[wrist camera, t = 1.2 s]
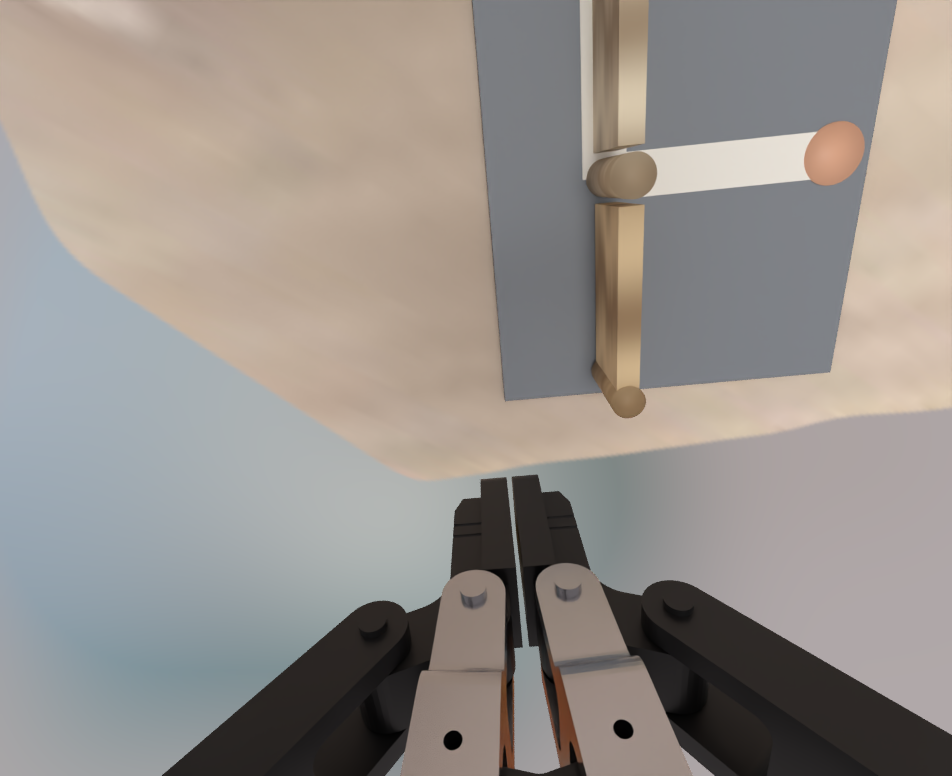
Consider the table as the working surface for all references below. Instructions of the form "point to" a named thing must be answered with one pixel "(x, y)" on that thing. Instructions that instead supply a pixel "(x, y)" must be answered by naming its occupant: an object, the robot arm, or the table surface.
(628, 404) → the fence gate
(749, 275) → the card
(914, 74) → the table surface
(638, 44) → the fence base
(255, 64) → the table surface
